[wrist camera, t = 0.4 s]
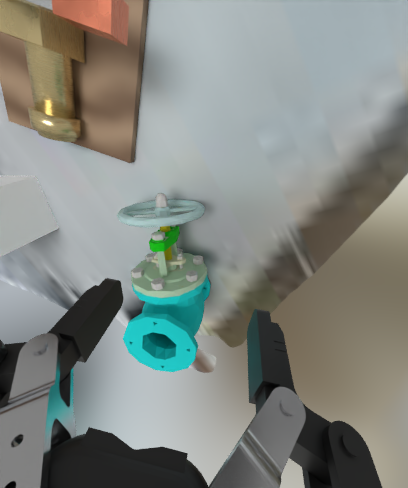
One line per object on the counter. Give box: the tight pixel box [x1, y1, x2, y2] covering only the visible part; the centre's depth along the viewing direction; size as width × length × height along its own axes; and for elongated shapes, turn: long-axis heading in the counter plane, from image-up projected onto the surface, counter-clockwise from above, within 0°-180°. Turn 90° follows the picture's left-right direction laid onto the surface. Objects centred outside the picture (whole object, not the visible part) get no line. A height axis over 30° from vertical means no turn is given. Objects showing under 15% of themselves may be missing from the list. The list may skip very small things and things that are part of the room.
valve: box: [117, 193, 211, 372], centre depth 37 cm, size 14×18×30 cm
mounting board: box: [0, 0, 149, 163], centre depth 27 cm, size 30×22×2 cm
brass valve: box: [0, 0, 85, 142], centre depth 22 cm, size 28×7×11 cm, turn 163°
